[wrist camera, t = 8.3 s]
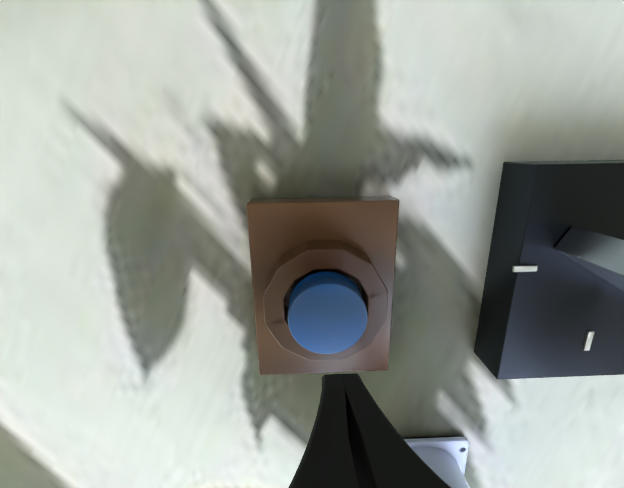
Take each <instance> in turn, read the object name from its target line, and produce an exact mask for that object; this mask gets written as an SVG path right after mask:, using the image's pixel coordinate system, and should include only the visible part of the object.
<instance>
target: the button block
mask: <svg viewBox="0 0 624 488" xmlns="http://www.w3.org/2000/svg"><path fill="white" fill-rule="evenodd" d="M398 211H399V200H397V199H395V198H394V197H392V196H374V197H327V198H279V199H251V200H250V201H249V202H248V203H247V217H248V230H249V243H250V256H251V269H252V282H253V295H254V308H255V321H256V334H257V347H258V360H259V373H260V375H276V374H302V373H329V372H355V371H381V370H388V363H389V348H390V333H391V317H392V302H393V287H394V272H395V257H396V241H397V226H398ZM318 272H336V273H339V274H342V275H344V276H346V277H348V278H349V279H350V280H352V281H353V282H354V283H355V285H356V286H357V287H358V289H359V291H360V293H361V296H362V298H363V300H364V303H365V305H366V308H367V313H368V320H367V325H366V329H365V331H364V333H363V335H362V336H361V338H360V339H359V340H358V341H357V342H356V343H355V344H354V345H353V346H351V347H350V348H348V349H346V350H344V351H341V352H338V353H333V354H320V353H315V352H312V351H309V350H307V349H305V348H304V347H302V346H301V345H300V344H299V343H298V342H297V341H296V340H295V339H294V337H293V336H292V334H291V332H290V329H289V326H288V309H289V300H290V296H291V293H292V291H293V289H294V288H295V287H296V285H297V284H298V283H299V282H300V281H301V280H303V279H304V278H306V277H307V276H309V275H311V274H314V273H318Z"/></svg>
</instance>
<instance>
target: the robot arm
mask: <svg viewBox="0 0 624 488" xmlns="http://www.w3.org/2000/svg"><path fill="white" fill-rule="evenodd" d="M468 448H469V442H468V440H467V438H465V437H442V438H419V439H403V438H402V437H401V436H400V434H399V433H398V432H397V431H396V429H395V428H394V427H393V426H392V424H391V423H390V422H389V420H388V419H387V418H386V416H385V415H384V414H383V412H382V411H381V409H380V408H379V407H378V405H377V404H376V402H375V401H374V399H373V398H372V396H371V395H370V393H369V392H368V390H367V388H366V387H365V385H364V383H363V382H362V380H361V378H360V376H359V375H358V374H332V375H324V376H323V377H322V392H321V398H320V404H319V408H318V412H317V416H316V420H315V423H314V426H313V429H312V433H311V436H310V439H309V442H308V444H307V447H306V450H305V452H304V455H303V457H302V460H301V462H300V465H299V467H298V469H297V471H296V473H295V476H294V478H293V480H292V482H291V484H290V486H289V488H470V487H469V485H468V483H467V481H466V479H465V477H464V472H465V466H466V460H467V454H468Z"/></svg>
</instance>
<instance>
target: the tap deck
mask: <svg viewBox="0 0 624 488" xmlns="http://www.w3.org/2000/svg"><path fill="white" fill-rule="evenodd" d="M572 226H576V227H579V228H583V229H586V230H590V231H593V232H597V233H600V234H604V235H607V236H611V237H614V238H618V239H621V240H624V160H590V161H534V162H504V164H503V170H502V177H501V183H500V189H499V196H498V202H497V208H496V215H495V221H494V227H493V234H492V240H491V246H490V253H489V259H488V266H487V272H486V278H485V285H484V291H483V297H482V304H481V310H480V316H479V323H478V329H477V335H476V342H475V348H474V353H475V354H476V355H477V356H478V357H479V358H480V360H481V361H482V362H483V363H484V364H485V366H486V367H487V368H488V369H489V370H490V371H491V373H492V374H493V375H494V376H495V377H496V378H497V379H518V378H543V377H568V376H594V375H619V374H624V292H623V291H622V290H620V289H618V288H617V287H615V286H614V285H612V284H610V283H609V282H607V281H605V280H604V279H602V278H601V277H599V276H597V275H596V274H594V273H593V272H591V271H589V270H588V269H586V268H584V267H583V266H581V265H580V264H578V263H576V262H575V261H573V260H571V259H570V258H568V257H567V256H565V255H563V254H562V253H560V252H559V251H557V250H555V247H556V246H557V244H558V243H559V242H560V241H561V239H562V238H563V237H564V236H565V234H566V233H567V232H568V231H569V229H570V228H571V227H572Z"/></svg>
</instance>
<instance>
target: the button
mask: <svg viewBox="0 0 624 488" xmlns="http://www.w3.org/2000/svg"><path fill="white" fill-rule="evenodd" d="M367 320H368V313H367V308H366V305H365V303H364V300H363V298H362V296H361V293H360V291H359V289H358V287H357V286H356V285H355V283H354V282H353V281H352V280H350V279H349V278H348V277H346V276H344V275H342V274H339V273H336V272H318V273H314V274H311V275H309V276H307V277H306V278H304V279H303V280H301V281H300V282H299V283H298V284H297V285H296V287H295V288H294V289H293V291H292V293H291V296H290V300H289V309H288V326H289V329H290V332H291V334H292V336H293V337H294V339H295V340H296V341H297V342H298V343H299V344H300V345H301V346H302V347H304V348H305V349H307V350H309V351H312V352H315V353H320V354H333V353H338V352H341V351H344V350H346V349H348V348H350V347H351V346H353V345H354V344H355V343H356V342H357V341H358V340H359V339H360V338H361V336H362V335H363V333H364V331H365V329H366V325H367Z"/></svg>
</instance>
